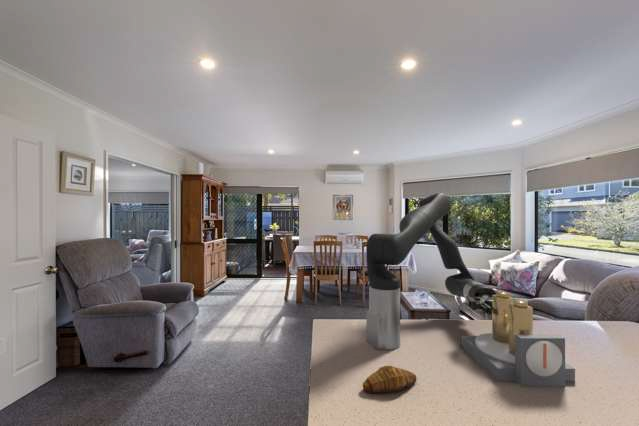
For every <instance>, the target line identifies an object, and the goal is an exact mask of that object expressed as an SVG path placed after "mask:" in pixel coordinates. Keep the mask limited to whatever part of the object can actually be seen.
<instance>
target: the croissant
mask: <svg viewBox="0 0 639 426" xmlns="http://www.w3.org/2000/svg"><path fill="white" fill-rule="evenodd" d="M416 382H417V376H416V374H415V373H414V372H411V371H410V370H406V369H403V368H399V367H395V366H393V365H384V366H381V367H379V368H378V369H376V371H375V372H373V373H372V374H370V375H369V376H368V377H366V379H365V380H364V381H363V383H362V388H363V389H362V390H363V392H365V393H368V394H369V393H370V394H383V393H396V392H399V391H401V390H404V389H407V388H409V387H411V386H413V385H414V384H416Z"/></svg>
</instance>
